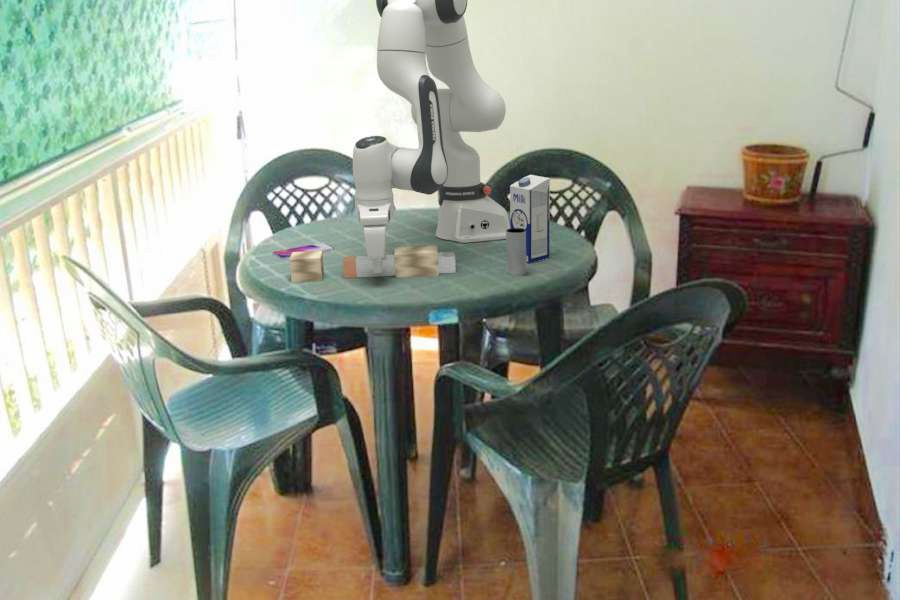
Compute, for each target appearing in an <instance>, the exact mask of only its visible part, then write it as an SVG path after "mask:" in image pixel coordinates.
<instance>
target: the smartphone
mask: <svg viewBox="0 0 900 600" xmlns="http://www.w3.org/2000/svg"><path fill="white" fill-rule="evenodd" d="M335 249H336V248H335V247H334V246H332V245H329V244H327V242H320V243H313V244H309V245H303V246H297V247H291V248H286V249H281V250H276V251H275V250H274V251H272V255H273V256H274V255H275V257H276V256H277V257H276V258H278V257H279V258H278V259H280V260H287V258H289V259H290V257H291V255H292V252H307V251H322V252H323V253H326V252H331V250H332V251H335Z"/></svg>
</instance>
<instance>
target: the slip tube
mask: <svg viewBox="0 0 900 600" xmlns="http://www.w3.org/2000/svg"><path fill="white" fill-rule="evenodd" d="M342 266H343V268H342V270H343V278H344V279H350V278H351V279H352V278H353V279H356V278H357V279H358V278H373V277H375V278H376V277H392V276H393V277H394V276H395V277H396V273H395V255H394V254H385V255H384V258H382V262H381V266H382V272H381V273H374V266H373V261H372V259H369V258H368V255H358V256H354V255H353V256H352V255H351V256H343V259H342ZM438 267H439V275H440V274H456V269H457V268H456V254H455V251H439V252H438Z"/></svg>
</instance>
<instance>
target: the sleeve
mask: <svg viewBox="0 0 900 600" xmlns="http://www.w3.org/2000/svg"><path fill="white" fill-rule="evenodd" d="M438 251H439V250H438V245H421V246H418V245H417V246H399V247H394V254H393V255H395V273H396V276H395V278H408V277H409V278H410V277H414V278H415V277H430V276H431V277H432V276H434V277H435V276H439V275H440V274H439V267H438Z"/></svg>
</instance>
